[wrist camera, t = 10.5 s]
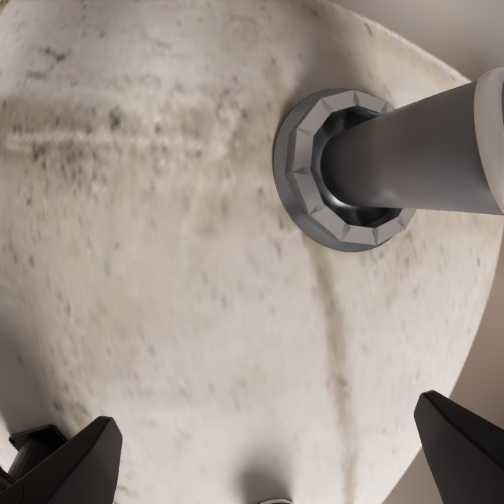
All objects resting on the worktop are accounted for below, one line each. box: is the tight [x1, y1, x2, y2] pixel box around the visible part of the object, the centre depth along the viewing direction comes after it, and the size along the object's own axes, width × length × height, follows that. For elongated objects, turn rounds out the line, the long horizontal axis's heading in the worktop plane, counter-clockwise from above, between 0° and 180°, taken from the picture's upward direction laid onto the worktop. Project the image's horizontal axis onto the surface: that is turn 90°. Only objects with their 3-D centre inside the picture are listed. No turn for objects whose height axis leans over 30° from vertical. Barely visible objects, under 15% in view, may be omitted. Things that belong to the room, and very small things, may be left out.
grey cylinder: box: [320, 66, 504, 215], centre depth 12 cm, size 5×5×14 cm
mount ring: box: [273, 89, 416, 252], centre depth 18 cm, size 11×11×2 cm
